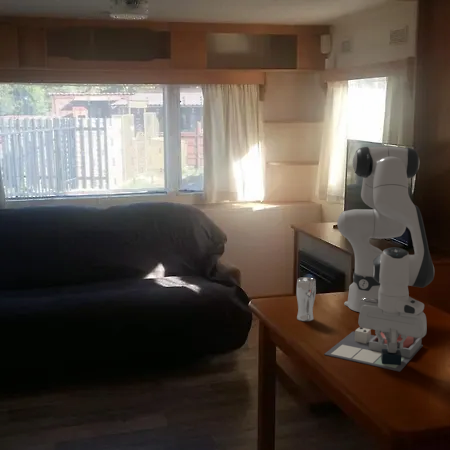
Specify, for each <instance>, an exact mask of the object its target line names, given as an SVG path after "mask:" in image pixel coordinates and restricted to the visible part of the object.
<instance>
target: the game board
mask: <svg viewBox="0 0 450 450" xmlns="http://www.w3.org/2000/svg"><path fill="white" fill-rule="evenodd" d="M371 330H372V329H368V328H362V327H360V326H359V327H358V328H356V329H355V330H354V331H353V330H352V331H351V332H350V333H349V334H347V335H346V336H345V337H344V338H342V339H341V340H340V341H338V342H337V343H336V344H335V345H334V346H332V347H331V348H330V349H329V350H328V351H326V352H325V353H324V356H327V357H332V358H337V359H341V360H345V361H349V362H354V363H355V362H356V363H359V364H364V365H367V366H373V367H375V368H376V367H377V368H381V369H385V370H391V371H394V372H395V371H396V372H399V373H400V372H401V371H402V370H403V369H404V368H405V367H406V366H407V365H408V363H409V362H410V361H411V360H412V359H414V357H415V355H416V354H417V353H418V352H419V351H420V350H421V348H422V347H423V346H424V345H423V344H422V340H423V338H415V337H413V338H414V339H413V344H412V345H411V346H410V347H409V348H402V349H400V348H397V350H400V352H401V355H402V356H401V365H393V364H382V361H381V351H382V349H387V344H384V345H380V344H378V338H377V336H376V335H374V334H372V331H371Z"/></svg>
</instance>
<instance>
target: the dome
mask: <svg viewBox="0 0 450 450" xmlns="http://www.w3.org/2000/svg"><path fill="white" fill-rule="evenodd" d="M381 336H382V338H385V335H384V333H382V332H381ZM402 339H403V338H401V335H400V336H399V337H398V338H397V342H398V341H401V340H402ZM413 339H414V338H413V337H410V336H407V338H406V340H405V341H404V342H403V348H409V347H410V346H411V345H412V344H413ZM384 344H387V340H386V338H385V343H384Z"/></svg>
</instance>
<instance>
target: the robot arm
mask: <svg viewBox="0 0 450 450" xmlns="http://www.w3.org/2000/svg"><path fill="white" fill-rule="evenodd" d="M420 163H421V162H420V157H419V153H418V152H417V150H416V149H414V148H411V147H405V148H404V147H401V146H400V147H399V146H391V145H390V146H371V147H369V146H364V147H359V148H358V149H357V150H356V151H355V153H354V155H353V157H352V168H353V170H354V171H353V172H354V173H355V174H356V175H357V176H358V177H360V178H362V183H361V185H362V186H361V191H360V198H361V200H362V202H363V203H364V204H365V205H366V206H368V207H369V208H372V209H365V208H364V209H361V208H359V209H358V208H356V209H349V210H344V211H342V212H341V213H340V214H339V216H338V218H337V223H336V225H337V230H338V231H339V233H340V234H341V235H342V236H343V237H344V238H345V239H346V240H347V241H348V243H350V245H351V247H352V249H353V254H354V271H353V276H352V281H353V282H352V283H351V284H349V287H348V289H349V290H348V297H347V300H346V301H345V302H344V306H345V307H348V308H349V309H350V310H352V311H354V312H358V313H359V315H358V322H357V323H358V325H359V327H362V328H366V329H371V330H374V333H375V336H377V338H378V344H380V345H384V343H385V338H382V336H381V332H382V331H383V332H389V333H390V330H389V328H392V329H395V330H397V334H399V335H401V338H403V339H402V340H401V341H398V342H397V348H400V349H402V348H403V342H404V341H405V340H406V338H407V336H410V337H415V338H422V339H423V338H424V337H425V336H426V335H427V323H428V322H427V316H426V314H425V313H424V309H425V303H423V302H421V301H419V300H417V299H415V298H413V297H412V296H409V294H410V293H409V286H411V287H415V288H421V289H422V288H425V287H427V286H428V285H430V284H431V283H432V282H433V281H434V278H435V267H434V264H433V263H434V262H433V260H432V256H431V253H430V252H431V251H430V249H429V244H428V239H427V234H426V229H425V224H424V220H423V216H422V213H421V211H420V208H419V206H417V205H415V204H414V203H413V201H412V199H411V197H410V195H409V181H408V179H412V178H414V177H415V176H416V175H417V173H418V171H419V169H420ZM406 229H408V230H409V232H410V236H411V240H412V246H413V250H414V254H409V251H407V250H406V249H403V248H400V247H396V246H395V247H393V246H392V247H388V248H385V249H383V251H382V250H381V249H380V248H379V247H377V246H374V245H372V244H371V242H370V240H371V239H394V238H398V237H401V236H402V235H403V234H404V233H405V232H406Z"/></svg>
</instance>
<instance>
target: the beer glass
mask: <svg viewBox="0 0 450 450" xmlns="http://www.w3.org/2000/svg"><path fill="white" fill-rule="evenodd" d="M316 285H317V284H316V279H315V278H313V277H304V276H303V277H299V278H297V281H296V299H297V309H298V311H297V316H296V319H297V320H298V321H300V322H312V321H314V313H313V311H314V304H315V299H316V295H317V294H316V292H317V289H316V288H317V287H316Z"/></svg>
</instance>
